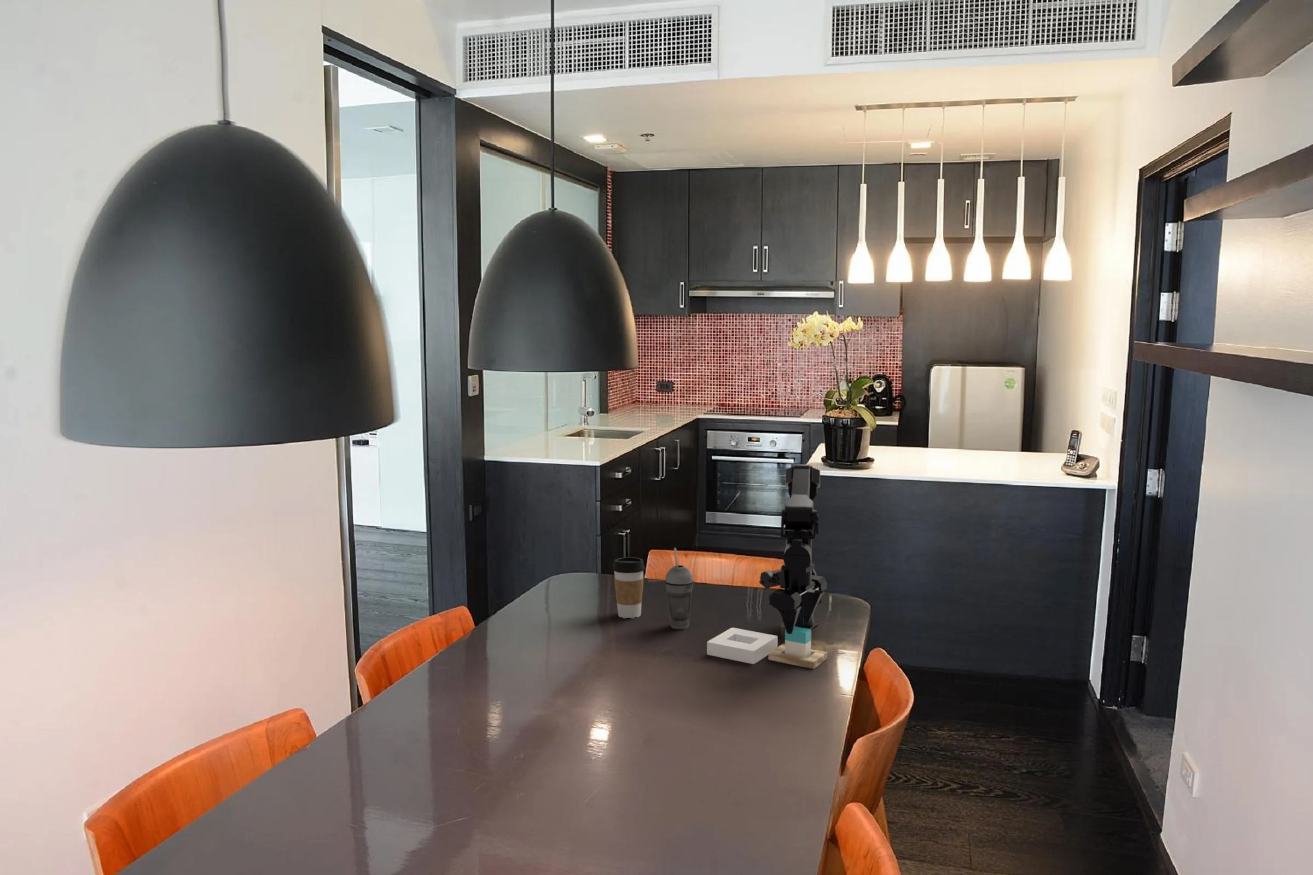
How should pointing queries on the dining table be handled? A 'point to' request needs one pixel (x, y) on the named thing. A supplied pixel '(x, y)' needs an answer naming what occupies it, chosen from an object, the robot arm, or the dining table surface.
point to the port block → (742, 645)
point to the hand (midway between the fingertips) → (798, 627)
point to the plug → (798, 642)
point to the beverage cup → (679, 594)
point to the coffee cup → (629, 586)
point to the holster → (809, 662)
